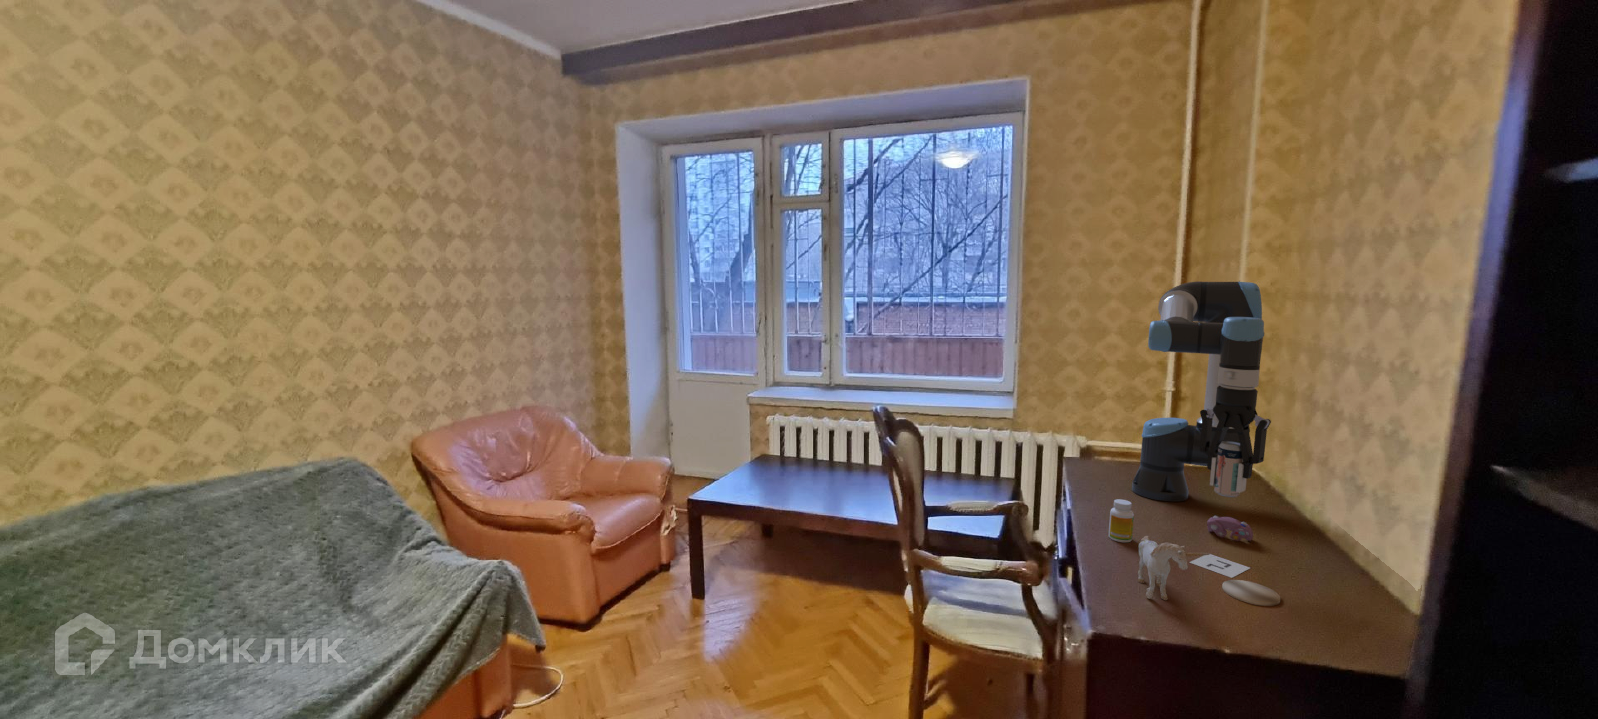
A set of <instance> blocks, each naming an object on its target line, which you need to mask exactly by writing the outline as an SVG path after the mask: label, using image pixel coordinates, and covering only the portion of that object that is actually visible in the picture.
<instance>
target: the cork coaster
mask: <svg viewBox="0 0 1598 719" xmlns="http://www.w3.org/2000/svg"><path fill="white" fill-rule="evenodd" d="M1222 582H1223V583H1222V586H1221V588H1222V591H1223V592H1224V593H1225V594H1227V595H1228V596H1230V597H1231V598H1234V599H1235V600H1238V601H1241V602H1244V603H1247V604H1251V605H1255V606H1261V607H1273V606H1277V605H1279V604H1280V603H1281V596H1280V595H1279V594H1278V593H1277V591H1275V590H1273V589H1271V588H1270V587H1267V586H1265V585H1262V584H1260V583H1256V582H1253V581H1250V580H1249V581H1248V580H1242V579H1228V580H1225V581H1222Z"/></svg>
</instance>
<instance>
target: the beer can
mask: <svg viewBox="0 0 1598 719" xmlns="http://www.w3.org/2000/svg"><path fill="white" fill-rule="evenodd" d="M1241 462H1243V459H1242V453H1241V447H1240V443H1237V442H1231V441H1222V442H1221V444H1220V445H1219V446H1218V457H1217V467H1216V478H1215V485H1214V488H1213V489H1214V492H1215V493H1216V494H1217V495H1219V496H1221V497H1225V498H1236V497H1239V496H1240V493H1239V492H1236V487H1237V477H1238V467H1239V463H1241Z"/></svg>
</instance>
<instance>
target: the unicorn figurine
mask: <svg viewBox="0 0 1598 719" xmlns="http://www.w3.org/2000/svg"><path fill="white" fill-rule="evenodd" d="M1185 547H1186V546H1185V545H1182V546H1180V545H1179V544H1176V543H1171V542H1164V543H1160V544H1159V543H1157V542H1156V541H1153V540H1151V539H1150V536H1149V535H1145V536H1143V537H1142V538H1141V539H1140V542H1139V543H1138V556H1139V563H1138V565H1139V570H1138V571H1137V575H1138V577H1137V582H1138V583H1141V584H1145V582H1146V581H1145V580H1146V579H1145V577H1144V567H1147V572H1148V573H1147V574H1148V579H1149V586H1148V588H1146V592H1145V598H1146V599H1148V600H1149V599H1152V597H1153V596H1154V590H1155V587H1156V586H1157V587H1159V592H1160V598H1161V599H1162V600H1164V601H1167V600H1168V598H1169V597H1168V595H1167V590H1166V584H1167V578H1168V577H1169V574H1170V572H1171V563H1170V562H1169V560H1170V559H1171V558H1172V560H1173V561H1174V562H1176V563H1177V564H1178V567H1179V569H1180V570H1183V571H1186V570H1188V561H1187V558H1189V557H1202V556H1204V555H1210V554H1211V553H1209V552H1187V551H1185V549H1184V548H1185ZM1155 580H1156V581H1155ZM1155 583H1156V584H1155Z"/></svg>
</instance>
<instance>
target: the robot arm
mask: <svg viewBox="0 0 1598 719" xmlns="http://www.w3.org/2000/svg"><path fill="white" fill-rule="evenodd" d="M1157 306H1158V307H1157V310H1158V314H1159V315H1160V320H1152V321H1151V322H1150V324H1149V327H1148V328H1149V331H1148V341H1147V342H1148V343H1147V344H1148V348H1149V350H1151V351H1157V352H1158V351H1159V352H1162V353H1167V352H1169V353H1185V354H1186V353H1189V354H1190V353H1191V354H1201V355H1202V354H1204V355H1208V361H1207V362H1208V363H1207V365H1208V366H1207V372H1206V373H1207V374H1206V382H1205V383H1206V384H1205V395H1204V402H1203V404H1204V406H1203V409H1201V410H1200V411H1199V414H1200V417H1198V418H1197V419H1196V424H1195V425H1192V424H1189V422H1188V420H1187V419H1185V418H1178V417H1158V418H1157V417H1156V418H1151V419H1149V420H1147V421H1145V422H1144V424H1143V428H1142V433H1141V437H1142V438H1141V450H1140V451H1141V452H1140V459H1139V460H1140V461H1139V462H1140V464H1139V467H1138V469H1137V471H1136V474H1135V476H1134V478H1133V480H1132V483H1131V491H1132V492H1133V493H1134V494H1136V495H1139V496H1141V497H1144V498H1146V499H1151V500H1156V501H1163V502H1183V501H1186V500H1188V499H1189V488H1188V484H1187V479H1186V476H1185V473H1184V470H1185V464H1186V465H1194V466H1202V467H1206V468H1207V470H1209V471H1210V478H1209V486H1213V487H1215V478H1216V467H1217V457H1218V446H1219V445H1220V444H1221V442H1222V441H1231V442H1237V443H1240V447H1241V453H1242V459H1243V462H1241V463H1239V467H1238V477H1237V487H1236V492H1239V494H1241V493H1243V492H1245V491H1246V490H1247V489H1246V488H1247V480H1248V479H1251V477H1252V475H1253V466H1254V465H1257V464H1260V463H1263V462H1264V461H1265V451H1266V441H1267V432H1268V431H1267V430H1268V429H1269V428H1270V427H1269V426H1270V425H1271V423H1272V420H1271V419H1270V418H1263V417H1261V416H1259V415H1258V412H1257V409H1256V407H1257V402H1258V401H1257V400H1258V390H1257V389H1256V388H1257V387H1259V384H1260V383H1259V381H1260V380H1259V379H1260V369H1261V358H1262V350H1263V341H1264V337H1265V322H1264V320H1263V319H1262V318H1263V316H1262V315H1263V306H1262V296H1261V290H1260V287H1259V285H1258V284H1256V283H1254V282H1250V281H1249V282H1248V281H1240V280H1239V281H1190V282H1185V283H1181V284H1179V285H1176V286H1174V287H1173V288H1170V289H1168V290H1167V291H1166V292H1164V293H1163V295H1162V296H1161V297H1160V299H1159V301H1158V305H1157ZM1253 422H1255V423H1254V425H1255V427H1256V429H1255V434H1254V444H1253V447H1252V441H1251V434H1250V432H1251V428H1250V424H1252V423H1253Z"/></svg>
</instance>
